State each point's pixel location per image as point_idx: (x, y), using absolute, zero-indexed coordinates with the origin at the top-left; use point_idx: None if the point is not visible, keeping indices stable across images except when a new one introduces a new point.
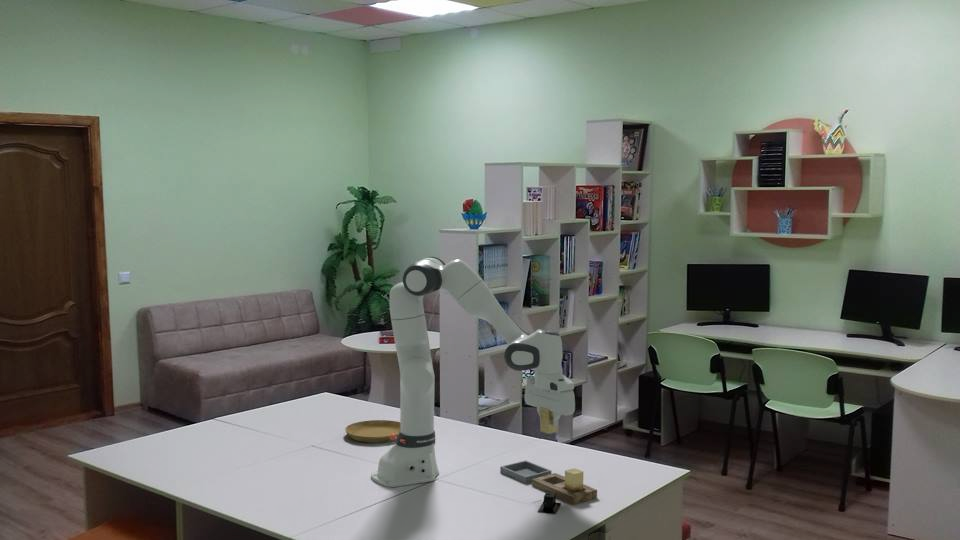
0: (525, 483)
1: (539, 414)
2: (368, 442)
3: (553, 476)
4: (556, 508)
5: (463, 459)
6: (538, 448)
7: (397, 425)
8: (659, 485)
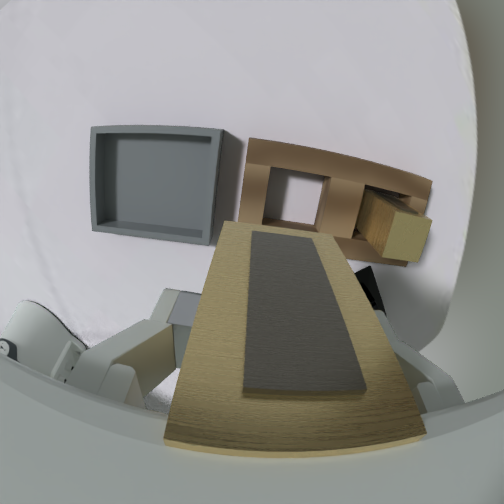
0: (211, 237)
1: (149, 379)
2: None
3: (268, 172)
4: (377, 299)
5: (3, 218)
6: (42, 12)
7: None
8: (459, 15)
